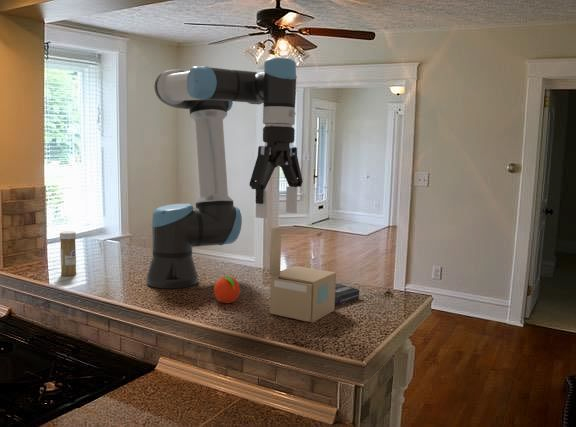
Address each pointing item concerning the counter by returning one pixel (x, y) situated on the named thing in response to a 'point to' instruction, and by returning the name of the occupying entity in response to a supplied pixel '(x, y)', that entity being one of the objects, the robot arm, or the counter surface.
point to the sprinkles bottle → (68, 253)
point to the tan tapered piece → (287, 287)
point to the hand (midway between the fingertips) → (276, 215)
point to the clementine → (226, 289)
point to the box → (345, 294)
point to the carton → (315, 288)
